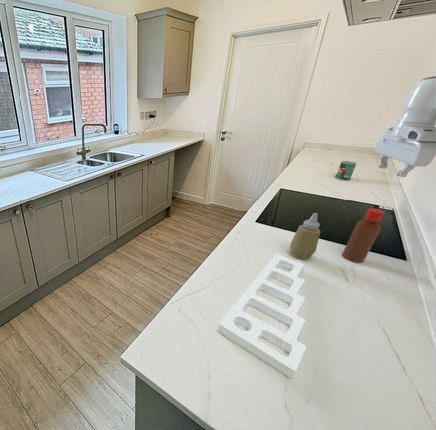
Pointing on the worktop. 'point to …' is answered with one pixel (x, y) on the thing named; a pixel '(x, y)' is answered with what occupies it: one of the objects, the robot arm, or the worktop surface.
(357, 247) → the bottle
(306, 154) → the worktop surface
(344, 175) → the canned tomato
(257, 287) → the holder
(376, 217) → the cap
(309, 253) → the squeeze bottle
